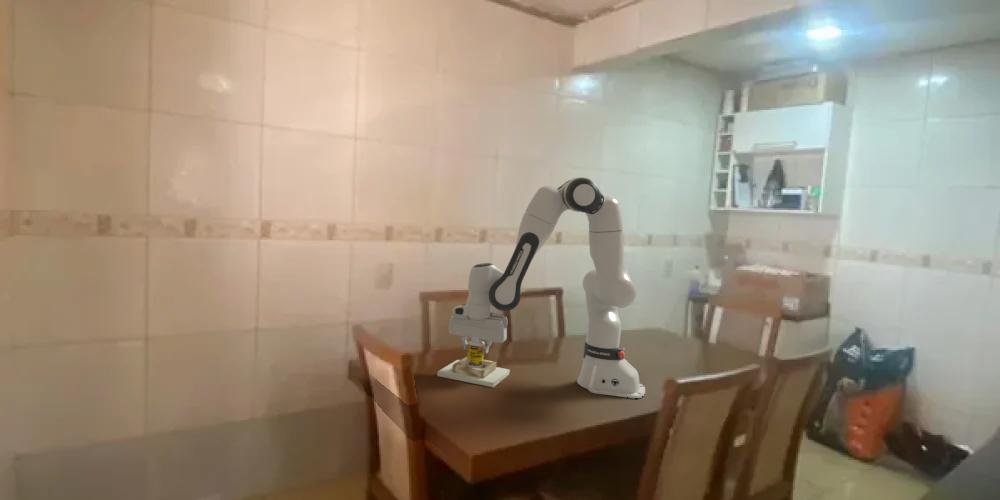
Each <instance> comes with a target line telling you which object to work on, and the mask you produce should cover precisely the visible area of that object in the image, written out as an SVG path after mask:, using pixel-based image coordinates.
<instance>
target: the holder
mask: <svg viewBox="0 0 1000 500" xmlns="http://www.w3.org/2000/svg"><path fill="white" fill-rule="evenodd" d="M510 371H511V370H510V369H508V368H502V367H497V361H494V360H493V361H492V360H487V359H483V365H482V366H481V367H470V366H468V365H467V356H465V357H463V358H462V359H456V360H454V361H453V362H452V363H450V364H448V365H446V366H444V367H443V368H441V369H440V370H438V371H437V373H436V374H437V377H440V378H447V379H450V380H455V381H461V382H465V383H469V384H470V383H471V384H475V385H480V386H484V387H489V388H495V387H496V386H497V385H498V384H499V383H501V382H502V381H503V380H504V379H505V378H507V377H508V376H509V375H510V373H511V372H510Z"/></svg>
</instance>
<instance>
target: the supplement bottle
mask: <svg viewBox="0 0 1000 500" xmlns="http://www.w3.org/2000/svg"><path fill="white" fill-rule="evenodd" d="M467 343H468V350H467V365H468V366H470V367H481V366H482V365H483V360H484V357H485V356H484V355H485V353H483V348H484V347H486V346H485V345H486V342H484V340H481V339H478V338H477V337H472V338H470V340H469V341H467Z"/></svg>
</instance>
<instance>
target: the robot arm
mask: <svg viewBox="0 0 1000 500" xmlns="http://www.w3.org/2000/svg"><path fill="white" fill-rule="evenodd" d="M568 210H570V211H573V212H577V213H579V212H580V213H585V215H586V217H587V221H588V239H589V241H588V242H589V243H588V244H589V256H590V257H591V259H592V261H593V264H594V268H595V269H592V270H590V271H588V272H587V273H585V275H584V277H583V280H582V287H583V290H584V294H585V300H586V301H585V302H586V309H587V311H586V312H587V328H586V340H585V342H584V345H583V351H582V352H583V353H582V355H583V356H582V357H583V361H582V367H581V370H580V374H579V377H578V378H577V381H576V382H577V384H578V385H580V387H582V388H584V389H586V390H588V391H589V392H590V393H592V394H598V395H607V396H612V397H613V396H614V397H619V398H621V397H622V398H627V397H628V399H635V398H638V399H641V398H643V397H644V396H645V395H644V394H646V387H645V386H644V385H643V384H642V383H640V376H639V372H638V371H637V369H636V368H635V367H633V365H632V364H630V363H629V361H628V360H626V359H625V356H626V351H625V347H622V346H620V341H621V332H622V321H621V319H620V316H619V312H618V309H624V308H627V307H629V306H631V305H632V304H633V303H634V302H635V299H636V297H637V288H636V285H635V284H634V283H633V281H632V278H631V276H630V273H629V271H630V270H629V268H628V265H627V260H626V255H625V248H624V247H625V246H624V244H625V243H624V227H623V218H622V217H623V216H622V212H621V207H620V203H619V202H618V200H617V199H616V198H613V197H611V196H604V195H603V193H602V191H601V190H600V188H599V186H598V185H597V184H596V182H594V181H593V180H591V178H586V177H580V176H579V177H578V176H577V177H574V178H571V179H569V180H567V181H565V182H564V183H563V184H561V185H560V186H559V187H558V188H556V187H553V186H549V185H546V186H542V187H540V188H539V189H538V190H537V191H536V192H535V194H534V195H533V197H532V198H531V200H530V202H529V203H528V205H527V207H526V209H525V211H524V214H523V215H522V218H521V222H520V225H519V228H518V232H517V238H516V243H515V247H514V251H513V253H512V255H511V258H510V260H509V262H508V264H507V266H506V268H505V271H503V270H501V269H500V268H498V267H497V266H496V265H495V264H493V263H489V262H488V263H487V262H485V263H477V264H475V265H473V266H472V267H471V269H470V271H469V277H468V284H467V290H468V296H467V298H466V303H464V304H460V305H456V306H455V307H453V308H452V314H451V316H450V318H449V322H448V329H447V331H448V332H449V335H453V336H459V337H461V338H460V339H461V342H462V343H463V350H467V351H468V340H467V339H468V338H470V339H471V338H472V337H477V338H478V339H481V340H483V341H486V342H485V344H486V346H484V348H483V353H484V354H488V353H489V349H490V347H491V345H492V344H493V342H494V343H499V344H502V343H504V342H505V341H506V340H507V339H508V338H507V336H508V331H507V330H508V325H509V320H508V318H507V316H505V315H504V314H501V313H497V312H496V313H494V312H493V308H495V309H496V310H498V311H501V312H508V311H511V310H514V309H515V308H516V307H517V306H518V305H519V303H520V301H521V295H522V292H523V291H522V290H523V285H522V283H523V280H524V277H526V274H527V271H528V270H529V267H530V265H531V263H532V261H533V259H534V258H535V256H536V255H537V253H538V252H539V251H540V249H541V248H542V247H544V245H545V244H546V242H547V241H548V240H549V238H550V237H551V236H552V234H553V231H554V230H555V228H556V225H557V224H558V222H559V219H560V218H561V216H562V214H563V213H564V212H566V211H568ZM642 396H643V397H642Z"/></svg>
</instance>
